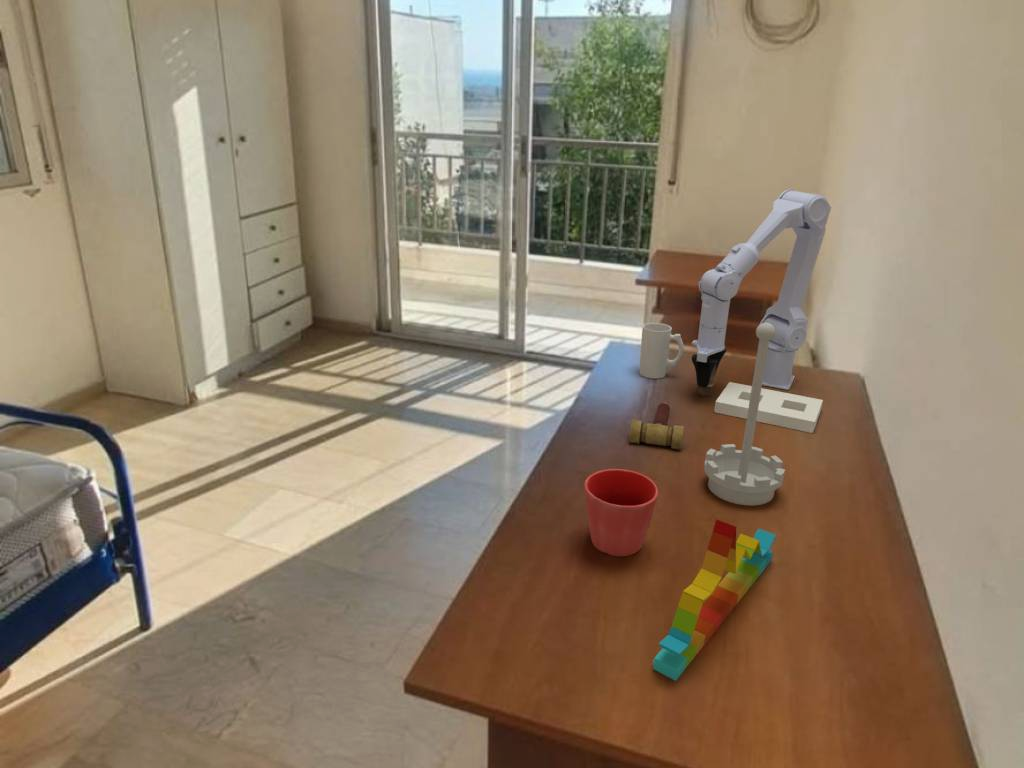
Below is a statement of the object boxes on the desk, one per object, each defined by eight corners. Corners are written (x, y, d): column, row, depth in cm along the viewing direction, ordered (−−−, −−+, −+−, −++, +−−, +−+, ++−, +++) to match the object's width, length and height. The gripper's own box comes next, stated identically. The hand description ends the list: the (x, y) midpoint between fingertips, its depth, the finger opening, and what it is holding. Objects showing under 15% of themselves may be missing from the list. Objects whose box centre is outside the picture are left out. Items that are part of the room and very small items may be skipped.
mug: (635, 376, 173) (640, 329, 169) (641, 367, 179) (645, 321, 175) (677, 383, 170) (683, 334, 166) (682, 373, 176) (687, 326, 172)
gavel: (643, 391, 158) (689, 397, 155) (641, 410, 159) (687, 416, 157) (630, 424, 139) (683, 431, 136) (628, 446, 140) (680, 453, 138)
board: (728, 392, 166) (729, 381, 165) (820, 410, 157) (822, 400, 156) (714, 412, 155) (715, 401, 154) (812, 433, 146) (815, 422, 145)
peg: (698, 389, 167) (702, 357, 164) (714, 392, 165) (718, 360, 162) (694, 395, 164) (698, 361, 161) (710, 398, 162) (714, 365, 159)
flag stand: (785, 513, 118) (818, 339, 107) (703, 503, 121) (727, 332, 109) (774, 475, 130) (803, 314, 119) (700, 466, 132) (722, 308, 121)
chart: (749, 554, 108) (765, 465, 102) (771, 562, 106) (787, 472, 101) (650, 669, 86) (663, 565, 80) (675, 682, 84) (689, 576, 78)
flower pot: (597, 568, 104) (601, 510, 100) (571, 526, 113) (574, 472, 110) (664, 558, 106) (671, 500, 103) (633, 518, 116) (638, 464, 112)
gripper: (703, 314, 166) (696, 369, 171) (685, 330, 154) (679, 389, 159) (734, 318, 163) (726, 375, 168) (719, 336, 151) (711, 396, 156)
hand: (705, 382), depth 163 cm, fingers open, 5 cm apart
